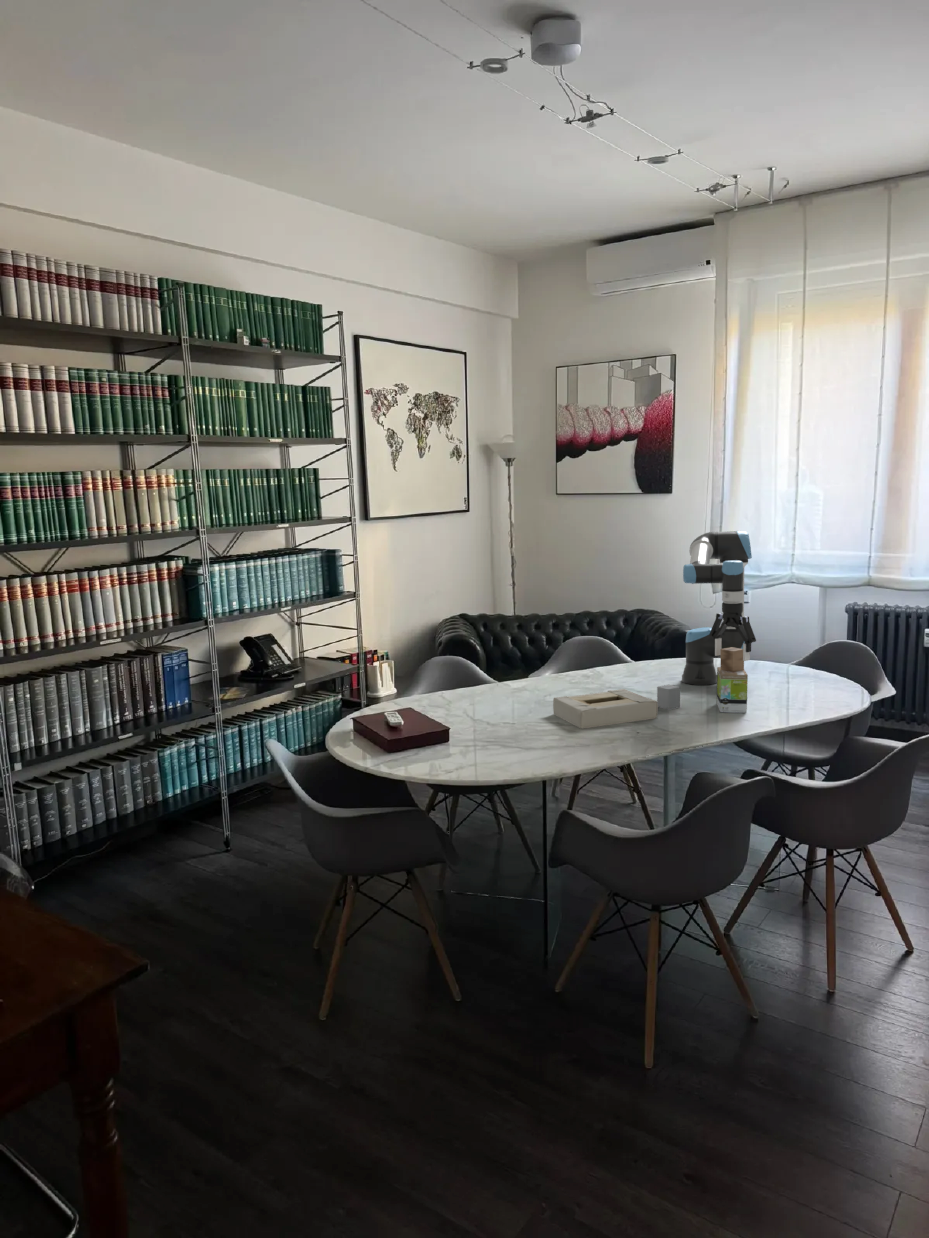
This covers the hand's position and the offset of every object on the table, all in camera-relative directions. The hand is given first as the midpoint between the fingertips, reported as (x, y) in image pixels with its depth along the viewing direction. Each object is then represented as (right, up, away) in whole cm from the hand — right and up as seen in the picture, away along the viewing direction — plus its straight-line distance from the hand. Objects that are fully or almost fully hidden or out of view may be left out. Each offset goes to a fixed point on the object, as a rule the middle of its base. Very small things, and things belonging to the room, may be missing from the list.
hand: (732, 657), depth 323 cm
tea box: (+1, -19, +3) cm, 20 cm away
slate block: (-22, -19, +8) cm, 30 cm away
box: (-49, -22, -3) cm, 54 cm away
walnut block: (0, -5, +1) cm, 5 cm away
